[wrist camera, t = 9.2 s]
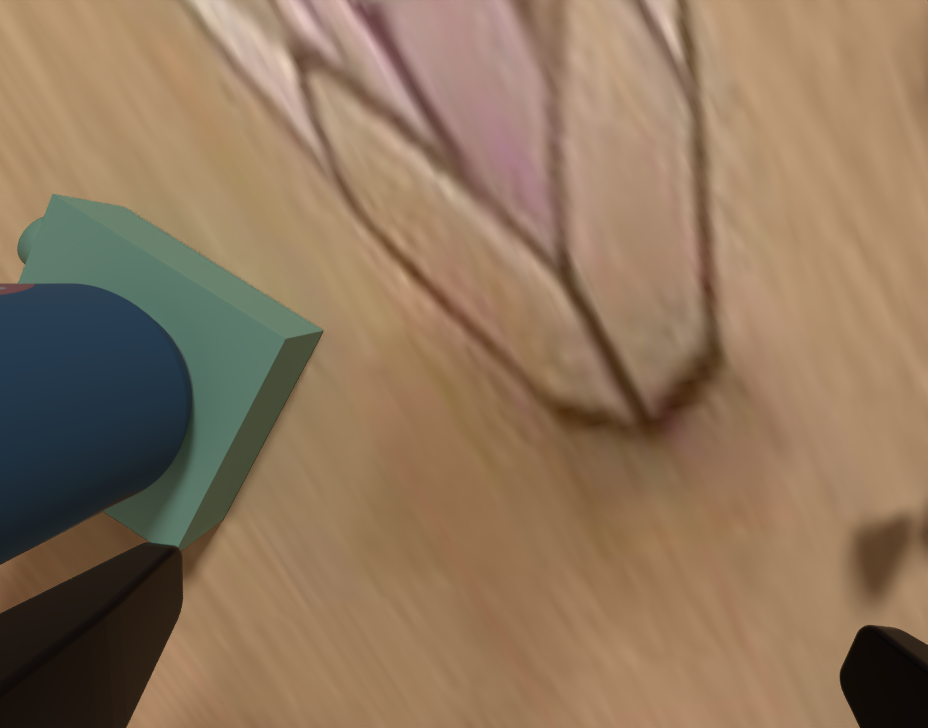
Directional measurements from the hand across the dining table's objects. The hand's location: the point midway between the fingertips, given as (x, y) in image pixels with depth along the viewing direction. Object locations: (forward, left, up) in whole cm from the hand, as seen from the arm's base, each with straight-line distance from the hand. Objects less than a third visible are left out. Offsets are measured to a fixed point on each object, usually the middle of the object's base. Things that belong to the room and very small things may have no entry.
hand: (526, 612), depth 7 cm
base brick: (+13, +6, -12) cm, 19 cm away
